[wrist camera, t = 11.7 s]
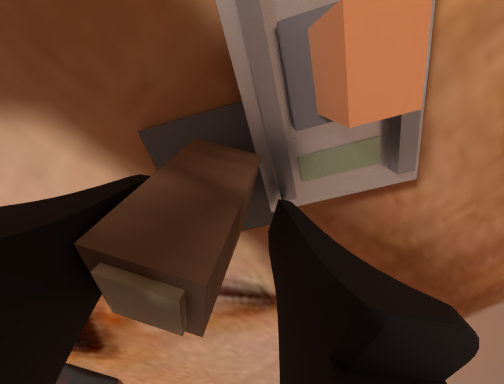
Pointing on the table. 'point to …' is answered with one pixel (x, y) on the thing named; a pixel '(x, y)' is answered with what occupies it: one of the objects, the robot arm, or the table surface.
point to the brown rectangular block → (174, 238)
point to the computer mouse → (82, 376)
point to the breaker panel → (315, 138)
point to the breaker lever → (355, 61)
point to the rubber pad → (217, 131)
